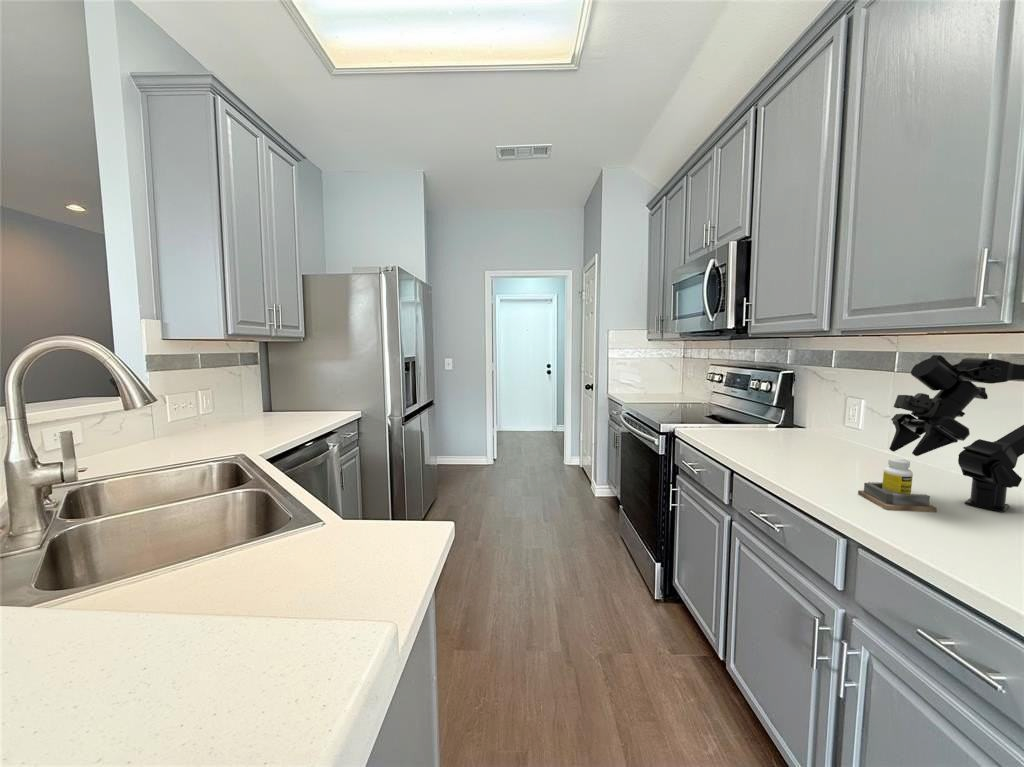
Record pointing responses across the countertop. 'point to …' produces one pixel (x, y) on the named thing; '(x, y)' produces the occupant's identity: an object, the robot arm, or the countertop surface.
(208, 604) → the countertop surface
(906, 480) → the supplement bottle
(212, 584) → the countertop surface
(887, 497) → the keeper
